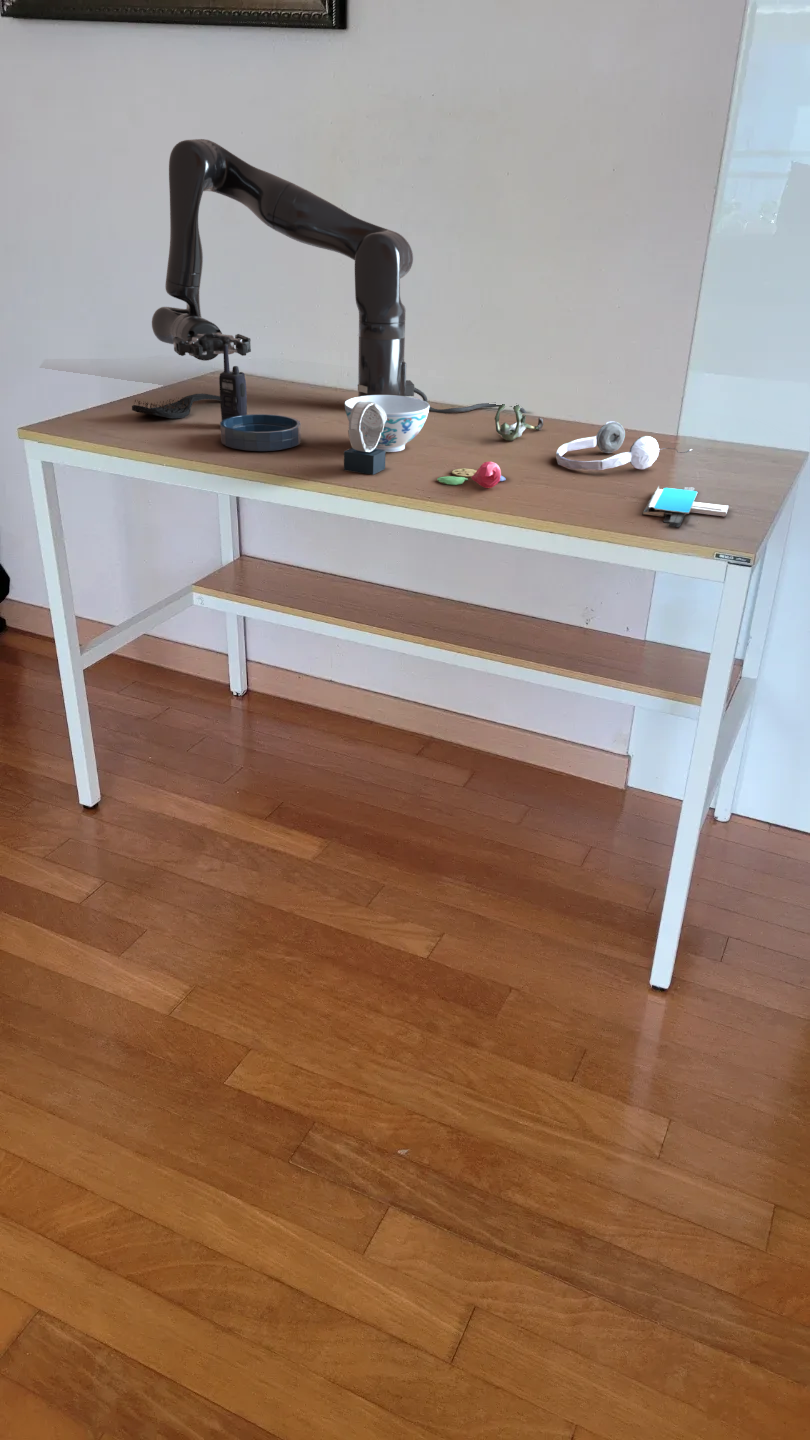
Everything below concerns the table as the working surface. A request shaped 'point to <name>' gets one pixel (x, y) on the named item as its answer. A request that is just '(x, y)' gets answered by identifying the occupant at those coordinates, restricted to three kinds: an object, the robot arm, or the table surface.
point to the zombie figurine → (514, 425)
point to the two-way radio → (232, 390)
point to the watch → (361, 453)
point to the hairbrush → (173, 406)
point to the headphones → (611, 450)
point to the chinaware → (395, 419)
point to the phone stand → (679, 505)
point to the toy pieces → (476, 475)
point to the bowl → (260, 432)
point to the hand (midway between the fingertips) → (222, 351)
